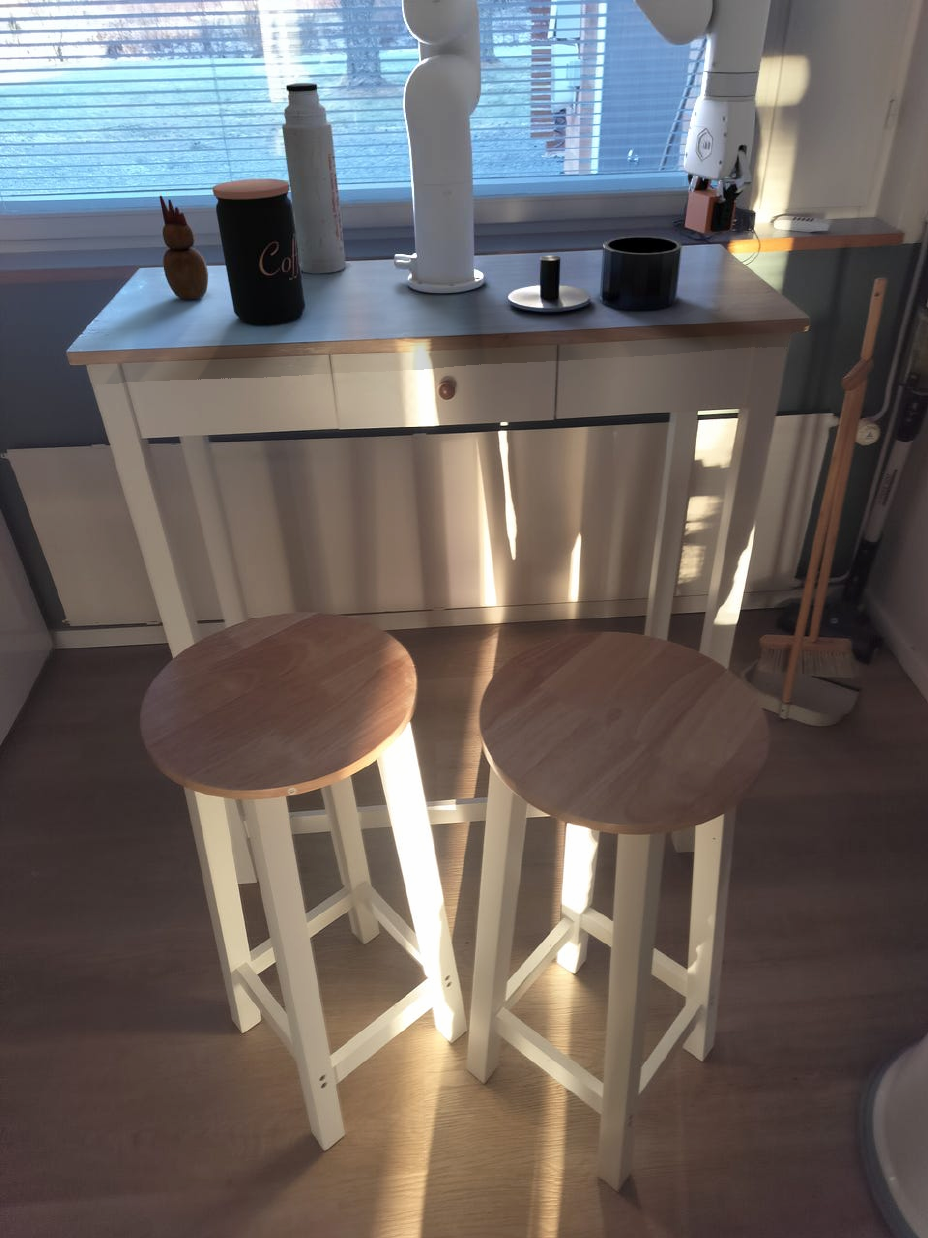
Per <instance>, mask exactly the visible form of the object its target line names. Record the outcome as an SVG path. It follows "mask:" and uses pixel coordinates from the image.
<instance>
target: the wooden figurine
mask: <svg viewBox="0 0 928 1238" xmlns="http://www.w3.org/2000/svg"><path fill="white" fill-rule="evenodd" d="M158 197H159V202H160V207H161V213H162V217H163V222H164V226H163V228H162V238H163V241H164V244H165V246H166V247H167V248H168V249H167V250H166V251H165V252H164V255H163V257H162V258H163V259H162V265H163V266H162V267H163V272H164V276H165V278H166V281H167V284H168V286H169V287H170V289H171V291H172V292H173V294H174V295H175V297H177V298H179V299H180V300H184V301H194V300H197V299H200V298H202V297H204V296H205V294H206V293H207V289H208V284H209V270H208V266H207V264H206V260H205V258H204V257H203V255H202V254H201V252H200V251H198V250H197V249H196V248H194V247H193V246H194V245H195V242H196V240H195V239H196V238H195V232H194V230H193V228H192V226H191V225H190V224H189V223H188V221H187V219H186V216H185V214H184V212H180V211H179V207H178V206H176V207H174V206H173V202H172V200H171V198H169V199H167V200H168V206H167V204H166V203H165V200H164V197H163V196H162V195H159V196H158Z"/></svg>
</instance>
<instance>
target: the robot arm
mask: <svg viewBox="0 0 928 1238" xmlns="http://www.w3.org/2000/svg"><path fill="white" fill-rule="evenodd" d="M632 1H633V2H634V4H635V5H636V6H637V8H638V9H639V10H640V12H641V14H643V16H644V17H645V19H646V20H647V21H648V23H650V25H651V26H652V28H653V29H654V31H655V32H656V33H657V35H658V36H659V37H660V38H661V39H662V40H663V41H665V42H666V43H667V44H670V45H674V46H683V45H688V44H691V43H692V42H694V41H696V40H704V39H706V49H705V57H704V64H703V72H702V80H701V86H700V94H699V96H697V97H696V101H695V104H694V108H693V110H692V115H691V119H690V124H689V128H688V134H687V138H686V145H685V152H684V159H683V169H684V172H685V174H686V176H687V182H688V184H689V188H688V193H689V192H690V191H698V190H708V189H710V186H711V184H712V181H715V182H716V183H717V189H718V202H714V209H713V216H712V223H711V231H712V232H715V233H721V232H720V231H723V232H729V231H728V230H729V229H730V227H731V220H732V214H733V208H734V202H736V203H737V202H738V201H739V197H740V195H741V194H742V193H743V191H744V190H745V189H746V188H747V187H748V186H749V185H750V184H751V183H752V181H753V180H752V179H753V178H752V175H751V170H750V164H751V158H752V153H753V146H754V145H753V144H754V136H755V126H756V95H757V88H758V82H759V77H760V69H761V64H762V63H761V62H762V57H763V53H764V45H765V39H766V34H767V28H768V21H769V15H770V8H771V4H772V3H771V2H772V0H632ZM401 6H402V7H401V9H402V16H403V19H404V22H405V25H406V27H407V30H409V32H410V34H411V35H412V36H413V37H414V39H416V40H417V41H418V55H419V63H418V64H416V65H415V67H414V68H413V69H412V71H411V72H410V74H409V75H408V78H407V80H406V83H405V87H404V91H403V111H404V113H403V115H404V120H405V128H406V134H407V140H408V150H409V162H410V179H411V191H412V192H411V195H412V208H413V210H412V211H413V229H414V247H415V248H414V249H415V253H412V255H407V254H395V255H394V257H393V264H394V267H395V269H396V270H408V271H409V272H410V274H409V276H407V285H408V286H409V288H411V289H412V290H415V291H418V292H422V293H429V294H456V293H461V292H463V293H464V292H469V291H472V290H475V289H477V288H480V287H481V286H483V285H484V283H485V275H484V273H483V272H481V271H479V270H478V269H475V227H474V226H475V223H474V178H473V177H474V175H473V173H474V172H473V149H472V135H471V120H470V118H471V116H472V115H473V113H474V112H475V110H476V109H477V107H478V105H479V102H480V99H481V93H482V65H481V64H482V63H481V62H482V61H481V39H480V38H481V37H480V14H479V13H480V12H479V2H478V0H401ZM727 184H729V186H728V187H727V186H726V185H727Z"/></svg>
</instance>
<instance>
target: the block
mask: <svg viewBox="0 0 928 1238" xmlns="http://www.w3.org/2000/svg"><path fill="white" fill-rule="evenodd" d="M687 199H688V201H687V207H686V215H685V222H684V227H685V228H687V229H689V230H693V231H695V232H698V233H701V234H703V235H704V234H705V235H706V234H714V233H716V232H712V231H711V223H712V216H713V209H714V202H718V188H711V189H710V188H709V189H708V190H698V191H690V192H689V191H688V198H687ZM736 206H737V201H736V202H734V208H733V214H732V220H731V227H730V229H729V230H728V231H727V232H729V231H730V232H731V231H732V230H733V225H734V220H735V213H736V208H737V207H736ZM722 232H724V231H720V232H719V233H722Z"/></svg>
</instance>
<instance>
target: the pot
mask: <svg viewBox="0 0 928 1238" xmlns="http://www.w3.org/2000/svg"><path fill="white" fill-rule="evenodd" d="M682 251H683V244H682V243H681V242H679V241H677V240H675V239H671V238H667V237H660V236H648V235H647V236H645V235H633V236H621V237H616V238H612V239H609V240H607V241H605V242H604V243H603V244H602V257H601V270H600V271H601V272H600V286H599V287H600V290H599V300H600V301H599V302H601V304H603V305H604V306H606V307H609V308H611V309H615V310H621V311H626V312H627V311H628V312H651V311H660V310H663V309H668V308H670V307H672V306H673V305H675V304H676V301H677V296H678V295H677V294H678V288H679V287H678V286H679V279H680V278H679V277H680V270H681V269H680V268H681V262H682Z"/></svg>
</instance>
